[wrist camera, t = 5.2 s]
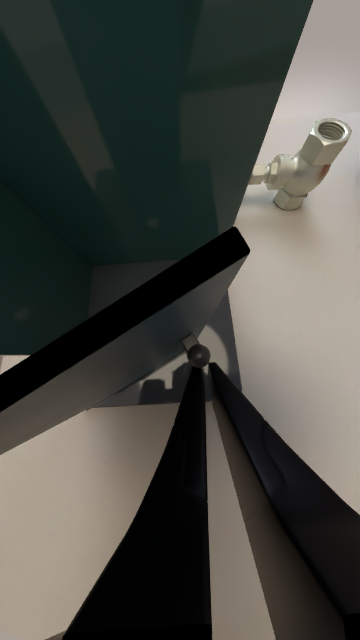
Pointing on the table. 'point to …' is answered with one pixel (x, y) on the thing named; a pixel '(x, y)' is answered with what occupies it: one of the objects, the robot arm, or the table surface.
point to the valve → (303, 164)
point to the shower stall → (128, 156)
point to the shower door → (120, 342)
